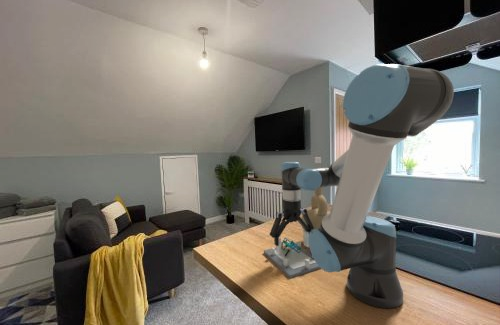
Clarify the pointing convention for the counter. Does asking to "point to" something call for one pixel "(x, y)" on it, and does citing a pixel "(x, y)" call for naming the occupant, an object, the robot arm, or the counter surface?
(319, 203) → the vase
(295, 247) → the stick construction toy
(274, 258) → the pin tray
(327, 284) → the counter surface
